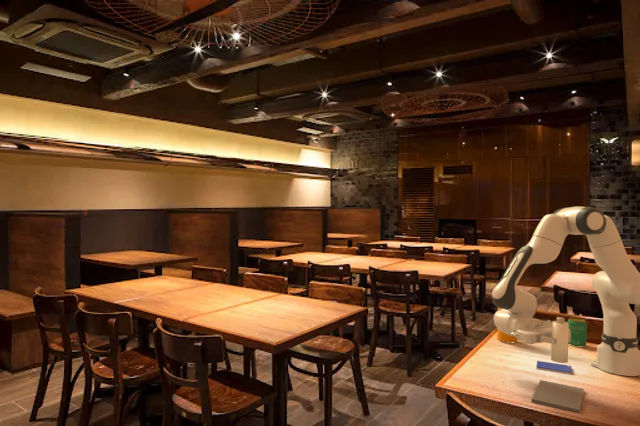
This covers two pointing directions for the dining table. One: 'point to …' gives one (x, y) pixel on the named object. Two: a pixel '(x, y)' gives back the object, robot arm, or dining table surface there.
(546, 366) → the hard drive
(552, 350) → the salt mill
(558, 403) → the slate board
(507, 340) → the beer bottle
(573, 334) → the beverage can
